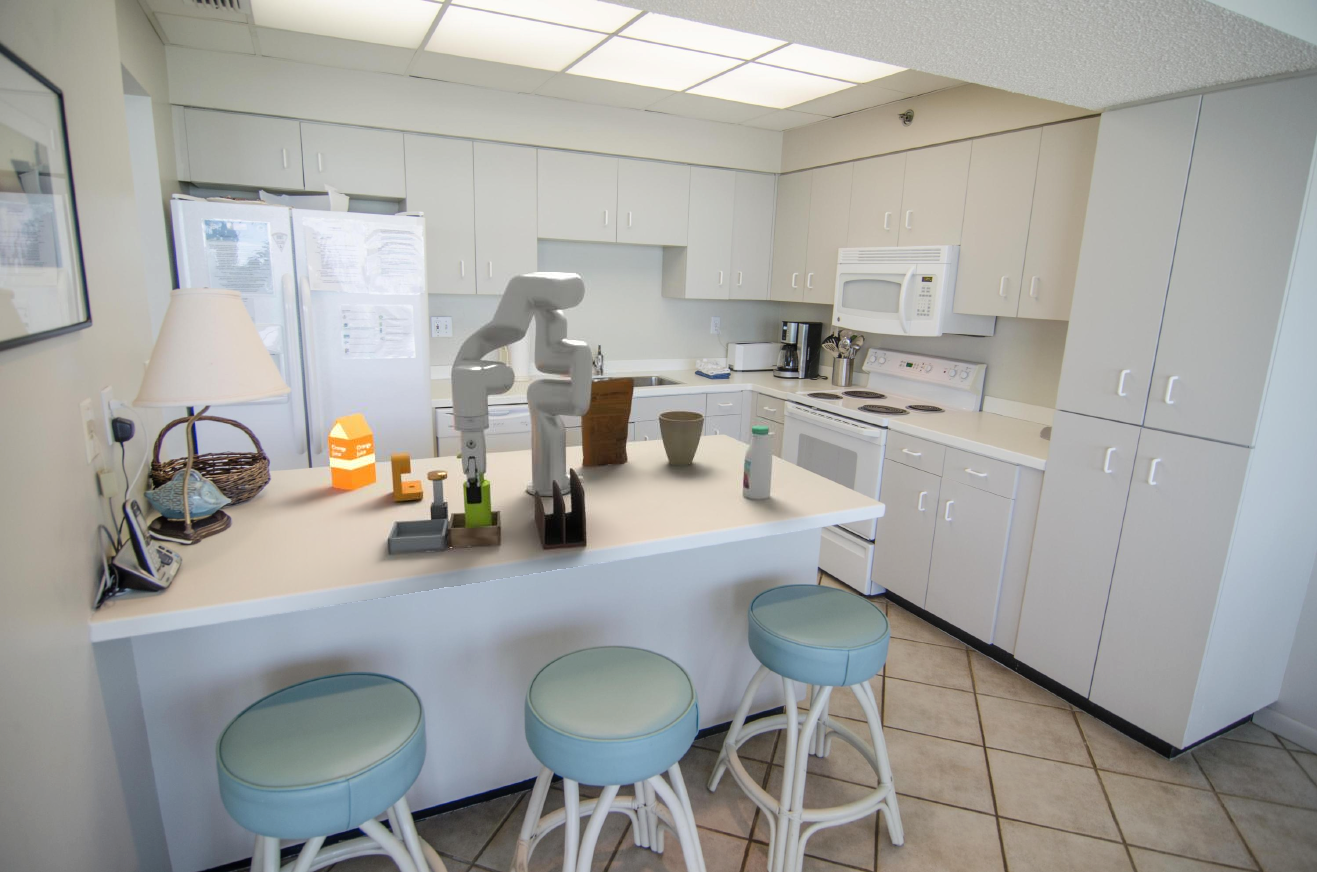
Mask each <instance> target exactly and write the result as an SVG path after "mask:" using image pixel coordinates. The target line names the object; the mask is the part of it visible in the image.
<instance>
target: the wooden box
mask: <svg viewBox="0 0 1317 872" xmlns="http://www.w3.org/2000/svg"><path fill="white" fill-rule="evenodd" d="M491 518H492V526H482V527H466V526H465V512H456V513H455V512H454V513H453V512H452V513H451V514H450V518H449V521H450V522H449V527H448V539H447V540H448V549H451V548H450V547H463V548H469V547H468V546H479V547H486V546H485V545H495V546H501V544H502V543H501V541H502V540H501V539H502V538H501V537H502V533H501V532H502V531H501V530H502V527H501V525H502V523H501V522H502V521H501V511H500V510H495V511H494V510H493V511H492V510H491Z"/></svg>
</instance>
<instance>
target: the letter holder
mask: <svg viewBox="0 0 1317 872" xmlns="http://www.w3.org/2000/svg"><path fill="white" fill-rule="evenodd" d="M569 476H570V512H569V511H568V512H566V511H567V509H566V504H565V500H564V497H563V494H561V491H560V488H559V486H558V484H557V483H556V481H555V480H553V482H552V486H553V496H552V513H549V514H546V512H545V508H544V505H543V501H542V498H541V496H540V495H539V493H538V491H535V495H534V521H535V525H536V530H537V532H538V536H539V540H540V543H541V548H542V549H543V550H553V549H554V550H555V549H557V550H558V549H566V548H567V549H568V548H578V547H586V546H587V543H588V541H587V539H588V538H587V517H586V516H587V514H586V496H585V495H586V494H585V490H584V486H583V483H581V482H580V480H579V477H580V476H578V474H577V472H576V471H575V469H573V468H571V467H570V468H569Z"/></svg>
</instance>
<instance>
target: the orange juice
mask: <svg viewBox="0 0 1317 872" xmlns="http://www.w3.org/2000/svg"><path fill="white" fill-rule="evenodd" d="M327 441H328V442H327V443H328V451H329V454H328V455H329V465H330V474H331V482H332V483H331V484H332V487H333V488H338V489H342V490H347V491H356V490H358V488H359V489H361V488H364V487H366V485H367V486H369V484H370V485H372V484H375V483H377V474H376V473H377V472H376V456H375V454H376V453H375V447H374V433H373V431H372V429H371V428H370V427H369V425H368V423H367V421H366V419H365V417H364V415H363V414H362V413H361V412H360V413H355V414H350V415H346V416H341V417H338V418H336V420H335V422H334V424H333V426H332V428H331V431H330V432H329V434H328V436H327ZM371 483H372V484H371ZM363 486H364V487H363Z"/></svg>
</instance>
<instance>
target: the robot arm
mask: <svg viewBox="0 0 1317 872" xmlns="http://www.w3.org/2000/svg"><path fill="white" fill-rule="evenodd" d="M585 288H586V287H585V282H584V281H583V279H582V277H581V276H580V275H578V273H577V274H576V273H573V272H551V271H550V272H547V271H538V272H537V271H536V272H535V271H534V272H533V271H532V272H528V273H526V274H518V275H516V276H513V277H512V278H511V279H510V280H509V281H508V283H507V286H506V287H505V290H504V292H503V294H502V296H501V299H500V301H499V303H498V306H497V307H496V311H495V313H494V315H493V317H492V319H491V320H490V321H489V322H488V323H485V324H484V325H483V326H480V327H479V328H478V329H477V330H476V331H474V333H472V334H471V335H470V336H468V337H467V338H466V339H465V341H464V342H463V343H462V345H461V346H460V348H459V350H458V352H457V354H456V356H455V359H454V361H453V364H452V368H451V372H450V378H451V379H450V380H451V399H452V417H453V419H452V421H453V430H455V431H458V432H459V444H460V454H461V458H460V459H461V465H462V473H463V474H464V475H465V476H466V481H467V486H466V495H467V504H480V503H482V495H481V486H480V473H483V474H484V475H485V473H486V472H487V464H488V463H487V447H486V445H487V444H486V443H487V442H486V432H485V430H488V429H489V428H490V424H489V423H490V422H489V402H488V401H489V400H488V399H489V396H497V395H503V394H506V393H508V392H509V391H510V390H511V389H512V387H513V386H514V383H515V378H516V376H515V372H514V370H513V368H512V366H511V365H509V364H507V363H505V362H503V361H498V360H497V361H496V360H495V361H493V360H488V359H487V360H485V359H483V358H484V357H485V356H487V354H490V353H491V352H493V351H496V350H498V349H500V348H503V347H504V348H505V347H508V346H510V345H512V344H514V343H517V342H520V341H521V340H523V339H524V338H525V337H526V335H527V332H528V330H529V327H530V324H531V322H532V321H533V317H534V320H535V321H534V322H535V334H534V335H535V337H534V338H535V339H534V365H535V368H536V370H537V371H538V372H539V373H543V374H546V375H547V374H548V375H559V376H568V377H570V380H564V379H554V378H553V379H552V378H551V379H550V378H540V379H539V378H538V379H535V380H534V381H532V382H531V383H530V384H529V386H528V387H527V390H526V401H527V407H528V411H529V417H530V418H529V419H530V430H531V431H530V432H531V433H530V435H531V437H530V439H531V442H530V444H531V481H530V483H528V484H527V485H526V491H527V493H529V494H531V495H534V496H535V491H538V493H539V495H540V497H553V486H552V482H553V480H555V481H556V483H557V484H558V486H559V488H560V491H561V494H562V495H566V494H568V493H571V491H570V474H568V472H567V442H566V440H567V438H566V437H567V431H566V430H567V429H566V426H565V424H564V421H563V419H562V418H561V416H566V417H567V416H568V417H569V416H570V417H581V416H583V415H585V414H586V413H587V411H588V409H589V406H590V400H591V385H592V382H593V381H592V380H593V367H594V366H593V364H594V363H593V361H594V359H593V353H592V350H591V347H590V346H589V345H588V344H587V343H586V342H585V341H581V340H573V339H572V340H570V339H568V320H567V318H566V315H565V313H564V312H563V310H567V309H571V308H575V307H578V306H579V305H580V304H581V302H582V301H583V299H584V296H585V291H586V289H585ZM468 470H469V473H468ZM475 470H477V471H478V473H475ZM479 472H480V473H479ZM475 476H477V478H475ZM578 477H579V480H580V482H581V484H583V482H584V477H583V476H578Z"/></svg>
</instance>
